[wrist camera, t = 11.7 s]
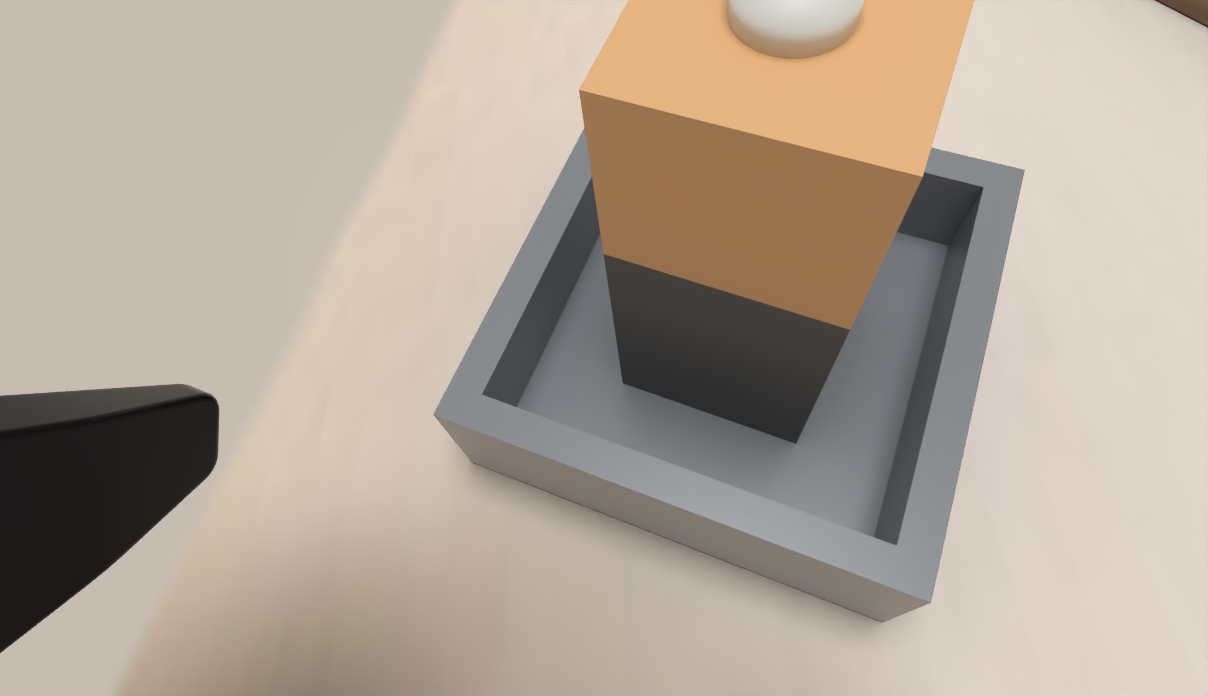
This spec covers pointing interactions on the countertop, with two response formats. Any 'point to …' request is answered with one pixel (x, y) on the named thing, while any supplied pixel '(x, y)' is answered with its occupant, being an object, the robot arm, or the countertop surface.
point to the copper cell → (757, 185)
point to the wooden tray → (1191, 8)
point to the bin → (735, 452)
